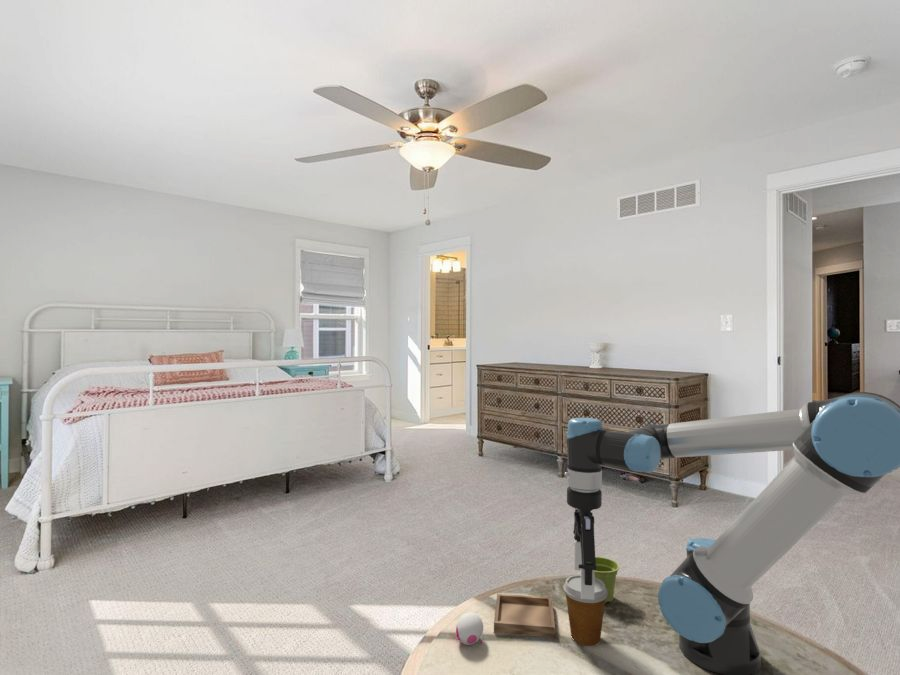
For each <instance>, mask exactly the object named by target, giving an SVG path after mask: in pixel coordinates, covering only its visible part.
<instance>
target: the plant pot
mask: <svg viewBox="0 0 900 675" xmlns="http://www.w3.org/2000/svg"><path fill="white" fill-rule="evenodd" d="M595 559H596V570H595V578H598V579H600V580H601V581H602V582H604V584H605V587H606V589H607V592H608V594H607V596H606V598H605V604H606V603H608V602H609V603H612V602H613V600H614V594H615V586H616V577H617V575H618V571H619V570H620V564H619V563H618V562H616V561H614V560H613V559H611V558H608V557H601V556H595ZM587 563H590V562H587Z"/></svg>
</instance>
